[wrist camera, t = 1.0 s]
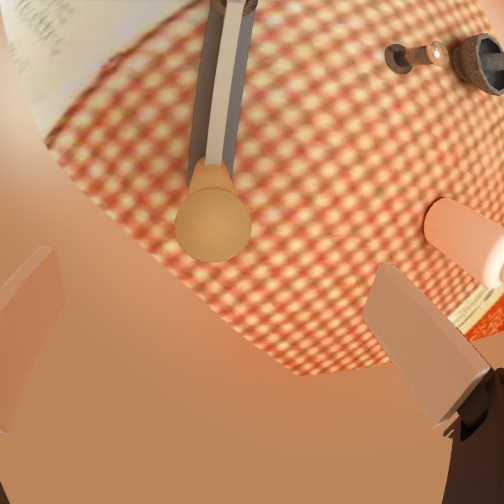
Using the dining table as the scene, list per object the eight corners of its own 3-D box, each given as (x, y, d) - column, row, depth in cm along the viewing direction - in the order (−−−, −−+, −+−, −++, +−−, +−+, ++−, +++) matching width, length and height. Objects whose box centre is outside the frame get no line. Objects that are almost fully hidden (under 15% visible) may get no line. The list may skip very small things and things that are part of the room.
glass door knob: (386, 39, 27) (426, 29, 19) (411, 51, 28) (453, 45, 20) (383, 67, 29) (425, 62, 21) (409, 78, 30) (451, 77, 22)
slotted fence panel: (212, 12, 23) (220, -76, 7) (250, 16, 24) (294, -65, 8) (190, 187, 32) (173, 260, 16) (227, 189, 33) (246, 264, 17)
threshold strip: (213, -8, 23) (213, -9, 22) (256, -3, 23) (257, -4, 23) (187, 184, 33) (187, 185, 32) (230, 187, 34) (230, 188, 33)
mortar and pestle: (457, 98, 31) (516, 106, 20) (435, 42, 27) (494, 36, 16) (489, 81, 30) (541, 88, 19) (471, 32, 26) (523, 29, 15)
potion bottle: (425, 195, 38) (514, 246, 22) (458, 196, 39) (539, 241, 23) (416, 245, 41) (491, 308, 25) (449, 241, 42) (520, 296, 26)
